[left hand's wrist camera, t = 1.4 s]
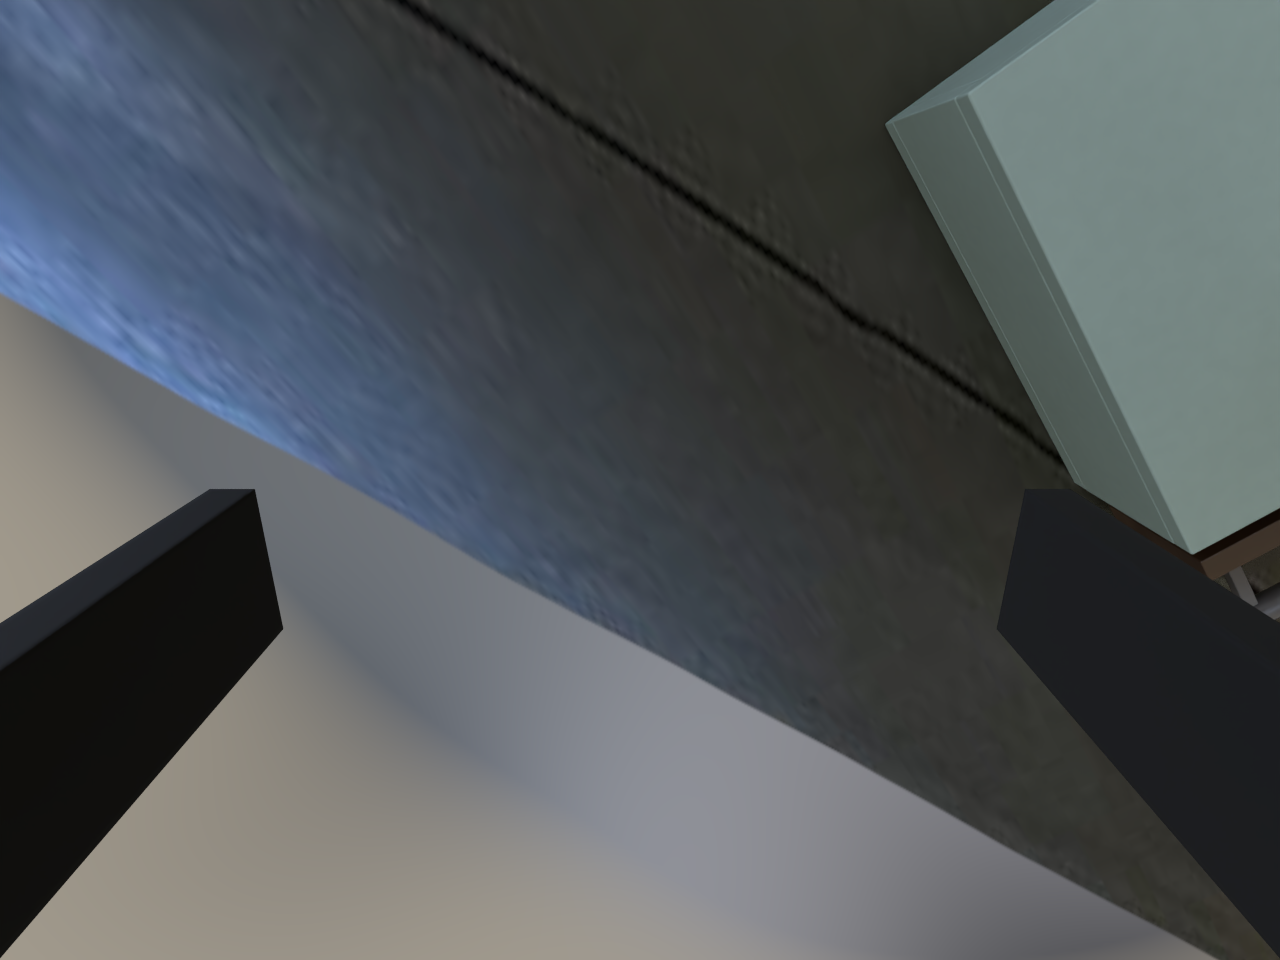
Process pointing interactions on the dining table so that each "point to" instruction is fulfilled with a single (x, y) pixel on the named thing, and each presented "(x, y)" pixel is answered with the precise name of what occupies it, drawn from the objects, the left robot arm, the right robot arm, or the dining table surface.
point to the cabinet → (1127, 242)
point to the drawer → (1228, 557)
